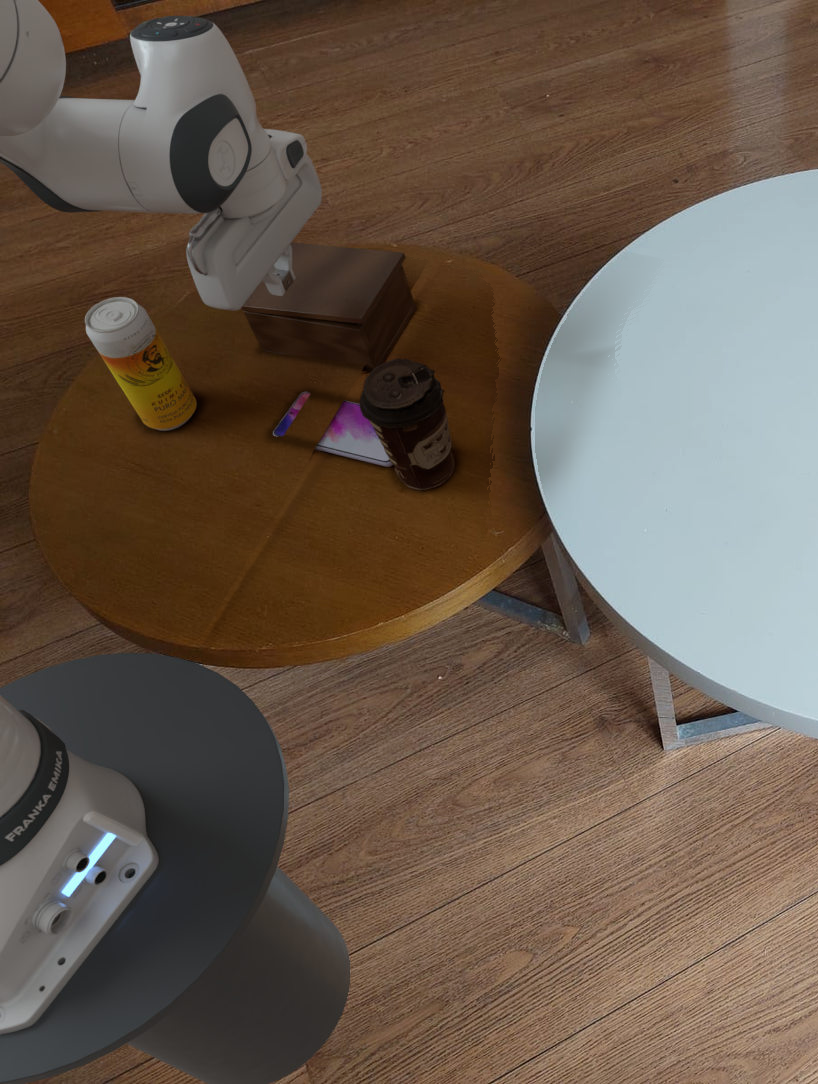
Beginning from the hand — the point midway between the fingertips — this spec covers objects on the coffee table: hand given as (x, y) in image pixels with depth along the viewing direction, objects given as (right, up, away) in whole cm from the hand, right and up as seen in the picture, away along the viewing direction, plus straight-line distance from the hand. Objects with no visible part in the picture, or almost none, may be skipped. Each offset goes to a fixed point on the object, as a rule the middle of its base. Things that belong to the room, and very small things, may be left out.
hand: (283, 287), depth 122 cm
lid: (+3, +2, +5) cm, 6 cm away
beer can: (-14, -14, +4) cm, 20 cm away
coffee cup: (+17, -20, -2) cm, 26 cm away
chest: (+2, -3, +11) cm, 12 cm away
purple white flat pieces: (+7, -16, +2) cm, 17 cm away
